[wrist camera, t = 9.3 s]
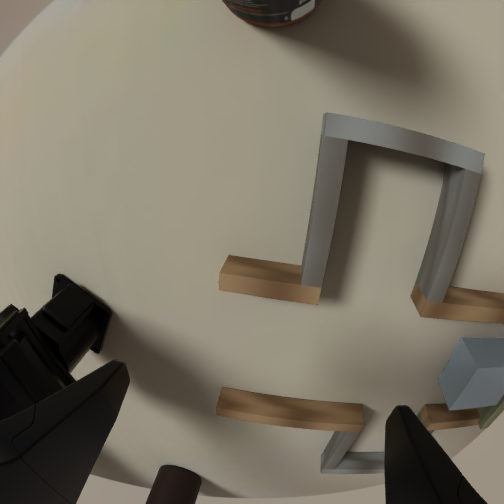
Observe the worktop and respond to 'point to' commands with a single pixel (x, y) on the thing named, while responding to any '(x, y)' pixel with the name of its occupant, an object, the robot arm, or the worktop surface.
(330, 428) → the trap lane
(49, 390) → the robot arm
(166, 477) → the vinegar
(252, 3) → the supplement bottle
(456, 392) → the block
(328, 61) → the worktop surface
